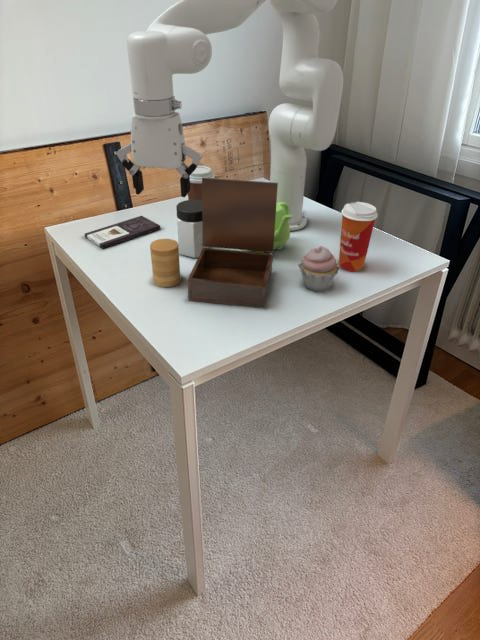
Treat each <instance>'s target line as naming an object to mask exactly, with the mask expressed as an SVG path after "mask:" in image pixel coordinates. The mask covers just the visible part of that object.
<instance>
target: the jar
mask: <svg viewBox="0 0 480 640" xmlns="http://www.w3.org/2000/svg"><path fill="white" fill-rule="evenodd" d="M175 208H176V217H177V218H176V226H177V242H178V248H179V255H181V256H185V257H188V258H189V257H190V258H192V259H196V258H197V259H198V257H199V255H200V253H201V251H202V249H203V248H211V247H204V246H203V232H202V200H188V199H186V200H183V201H180V202H178V203H177V204H176V206H175Z"/></svg>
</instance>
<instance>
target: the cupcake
mask: <svg viewBox="0 0 480 640" xmlns="http://www.w3.org/2000/svg"><path fill="white" fill-rule="evenodd" d="M300 261H301V262H300V263H298V264H297V265H298V267H299V270H300V271H299V272H300V273H301V277H302V283H303V286H304V287H305V288H306V289H308V290H310V291H313V292H325V291H327V290H329V289H330V288H331V287H332V285H333V283H334V279H335V278H336V276H337V275H338V273H339V271H340V269H341V267H340V266H339V263H338V262H337V259H336V257H335V255H334V254H332V252H331V251H330V249H329V248H327V247H326V246H323V245H319V246H317V247H314V248H311V249H309V250H308V251H307V252H306V253H305V255H303V257H302V259H301V260H300Z"/></svg>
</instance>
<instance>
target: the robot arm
mask: <svg viewBox="0 0 480 640" xmlns="http://www.w3.org/2000/svg"><path fill="white" fill-rule="evenodd" d="M266 1H267V0H179V1H177V2H175V3H174V4H173V5H171V6H169V7H168V8H166V10H164V11H163V12H162V13H161V14H160V15H158V17H156V18H155V19H154V20H153V21H152V22H151V23H150V24H149V26H148V27H147V28H146V30H138V31H133V32H131V33H129V35H128V36H127V39H126V48H127V57H128V67H129V74H130V83H131V90H132V91H131V92H132V100H133V108H134V109H133V111H134V112H133V113H132V114H131V122H130V143H129V144H127V145H125V146H123V147H121V148H120V149H118V150H117V151H116V152H115V153H116V156H117V158H118V159H119V161H120V162H121V166H122V167H123V168H125V169H126V170H127V172H128V173H129V175H130V176H131V178H132V179H131V180H132V187H133V189H135V194H136V195H141V193H143V191H144V190H145V187H144V177H143V172H142V170H141V168H151V169H153V168H154V169H168V170H174V169H175V170H176V171H177V172H178V173H179V174H180V176H181V177H180V178H179V179H180V180H179V185H180V197H182V198H186V197H187V196H188V192H189V191H190V175H191V174H192V173H193V172H194V171H195V169H196V168H197V166H199V164H200V161H201V160H202V159H203V155H202V153H200V152H198V151H196V150H194V149H193V148H191V147H189V146H187V145H186V140H185V133H184V128H183V123H182V119H181V115H180V113H179V112H177V111H176V110H181V109H182V107H183V106H182V104H183V103H182V100H177V99H176V97H175V95H174V84H173V83H174V81H173V75H175V74H176V75H177V74H181V75H182V74H183V75H192V74H197V73H200V72H202V71H203V70H205V69H206V67H208V65H209V63H210V62H211V60H212V56H213V48H212V47H213V46H212V43H211V41H210V39H209V38H208V36H207V35H211V34H216V33H218V34H219V33H222V32H226V31H229V30H233V29H236V28H238V27H239V26H241V25H243V23H245V21H247V19H249V18H250V16H251V15H253V14H254V12H255V11H257V10H258V9H259V8H260V7H261V5H263V4H264V3H265V2H266ZM268 1H269V3H270V5H271V6H272V8H273V9H274V10H275V12H276V14H277V15H278V18H279V20H280V23H281V26H282V33H283V34H282V35H283V37H282V47H281V48H282V50H281V58H280V59H281V60H280V68H279V90H280V92H281V93H282V95H284V96H286V97H288V98H291V99H296V100H300V101H305V102H311V103H312V107H311V106H308V105H301V104H297V103H289V102H287V103H285V102H284V103H281V104H278V105H277V106H275V107H274V108H273V109H272V111H271V112H270V115H269V117H268V131H269V132H268V133H269V140H270V171H269V172H270V173H269V182H274V183H278V189H277V203H278V202H285V203H286V204H287V205H288V206H289V213H288V215H292V216H293V217H291V218H290V219H289V221H288V222H289V228H290V232H291V231H292V232H293V231H298V230H301V229H303V228H304V227H305V226H306V225H307V224H308V218H307V217H306V215H304V214H303V206H304V196H305V184H306V174H307V165H308V164H307V162H308V161H307V160H308V159H307V154H306V151H305V149H307V150H311V151H316V152H322V151H323V152H324V151H325V150H327V149H328V148H329V147H330V146H331V145H332V143H333V141H334V138H335V135H336V131H337V127H338V120H339V114H340V108H341V102H342V96H343V89H344V74H343V73H344V72H343V70H342V67H341V65H340V64H339V63H338V62H337V61H336V60H332V59H329V58H323V57H322V58H321V57H319V47H320V46H319V45H320V35H321V34H320V33H321V31H320V25H319V21H318V19H317V17H316V15H325V14H327V13H329V12H331V11H332V10H333V9H334V8H335V6H336V4H337V3H338V1H339V0H268ZM130 153H131V157H132V161H131V159H129V158H128V155H127V154H130ZM187 157H188V158H191V160H192V161H191V163H190V165H189V166H188V165H187V163H186V159H187ZM281 207H282V208H283V210H284V206H281Z"/></svg>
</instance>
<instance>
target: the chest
mask: <svg viewBox="0 0 480 640" xmlns="http://www.w3.org/2000/svg"><path fill="white" fill-rule="evenodd" d="M273 259H274V253H270V252H264V253H258V252H254V251H248V250H236V249H225V248H214V247H210V248H203V249H202V251H201V253H200V255H199V257H197V260H196V262H195V263H194V265H193V268H192V269H191V272H190V274H189V276H188V277H187V296H188V297H187V298H188V301H190V302H201V303H208V304H209V303H211V304H218V305H229V306H239V307H248V308H250V307H251V308H258V309H259V308H260V309H265V306H266V303H267V298H268V293H269V288H270V284H271V279H272V275H273V264H274V263H273V261H274V260H273Z"/></svg>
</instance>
